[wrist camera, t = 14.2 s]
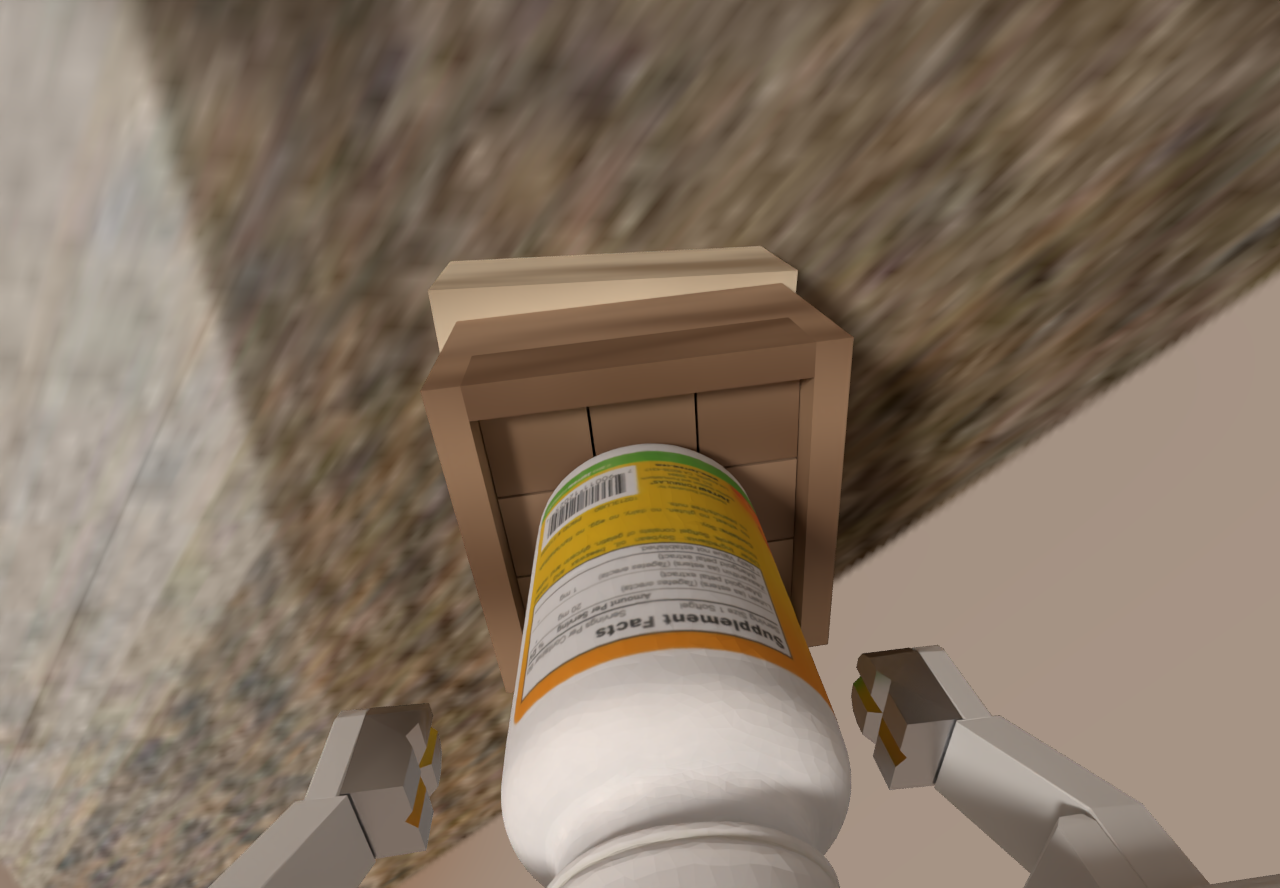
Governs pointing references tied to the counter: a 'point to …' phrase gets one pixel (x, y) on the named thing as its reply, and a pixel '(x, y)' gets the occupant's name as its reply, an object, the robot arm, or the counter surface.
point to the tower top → (644, 426)
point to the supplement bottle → (667, 692)
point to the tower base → (593, 281)
